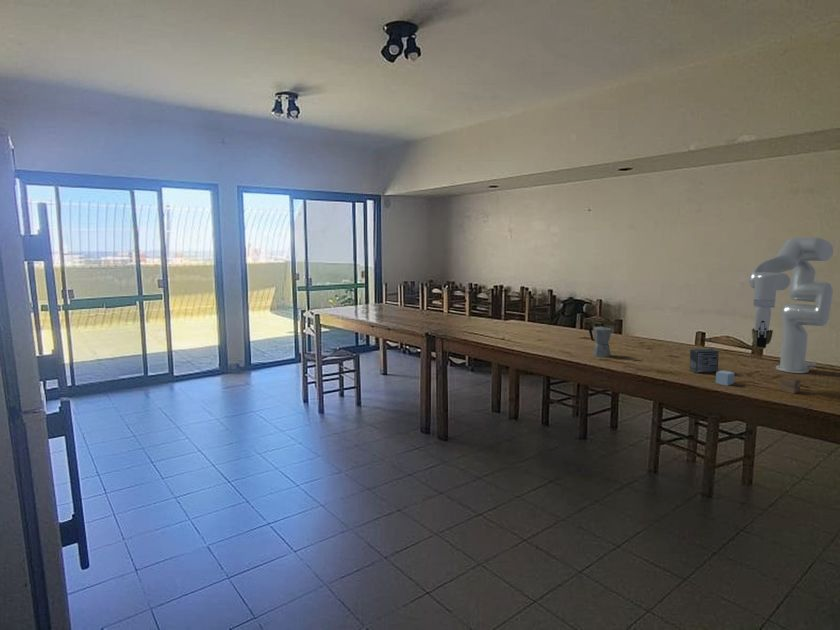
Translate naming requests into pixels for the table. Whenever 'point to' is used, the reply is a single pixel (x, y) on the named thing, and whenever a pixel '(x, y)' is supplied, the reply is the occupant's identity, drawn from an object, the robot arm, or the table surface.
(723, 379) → the slate-blue cube
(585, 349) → the table surface
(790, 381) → the walnut cube
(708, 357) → the small box
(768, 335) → the cup
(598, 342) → the coffeepot
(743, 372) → the table surface
